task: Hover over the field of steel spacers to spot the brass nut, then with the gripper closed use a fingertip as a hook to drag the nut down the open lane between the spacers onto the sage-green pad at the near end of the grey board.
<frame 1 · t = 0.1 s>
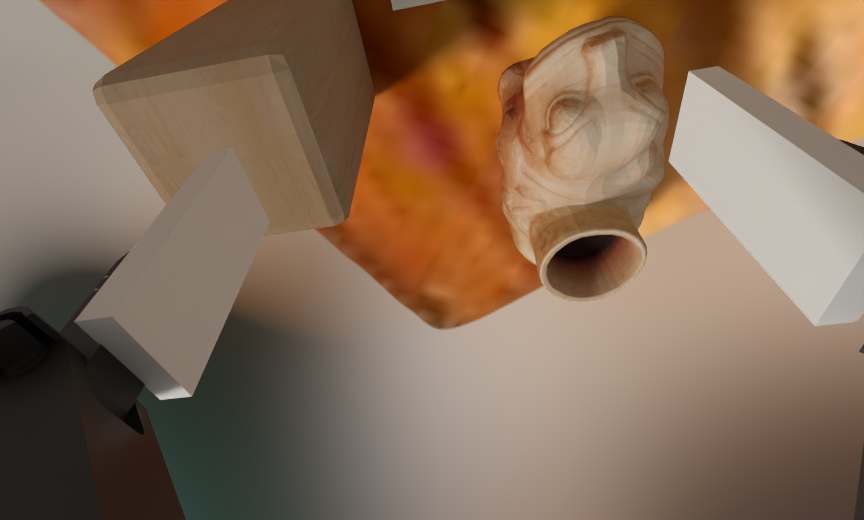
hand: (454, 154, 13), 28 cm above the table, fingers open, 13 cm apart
wooden block: (308, 51, 37), on the table
ceramic vessel: (561, 137, 43), on the table
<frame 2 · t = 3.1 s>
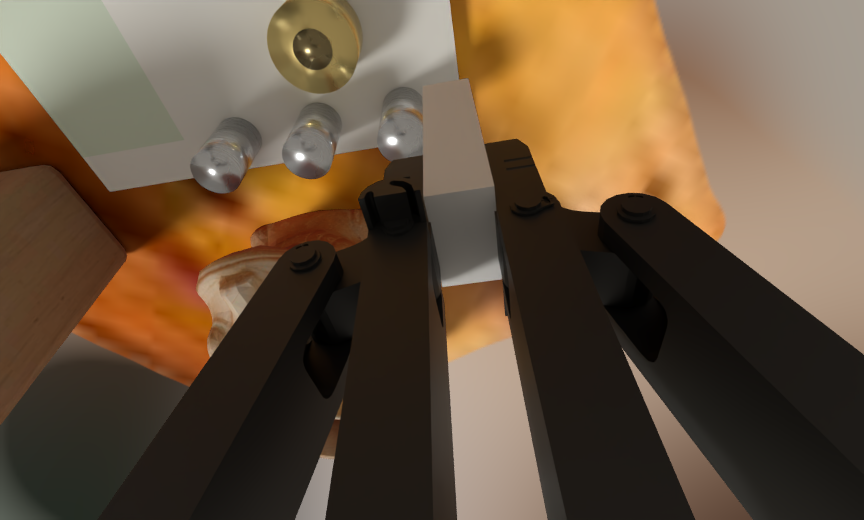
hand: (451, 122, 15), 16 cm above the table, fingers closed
nut: (321, 33, 26), point 1 cm above the table, touching board
spacers: (297, 48, 25), on the board, point 4 cm above the table
board: (235, 46, 28), on the table
wooden block: (47, 217, 36), on the table
ceramic vessel: (339, 280, 42), on the table
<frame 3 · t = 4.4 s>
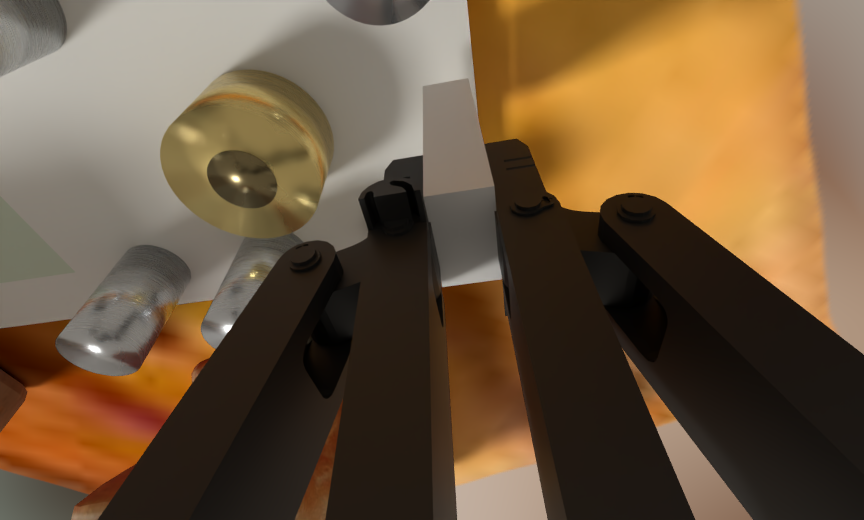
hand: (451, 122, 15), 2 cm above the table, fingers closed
nut: (267, 137, 16), point 1 cm above the table, touching board
spacers: (220, 173, 15), on the board, point 4 cm above the table
board: (136, 149, 18), on the table
ceramic vessel: (317, 411, 32), on the table
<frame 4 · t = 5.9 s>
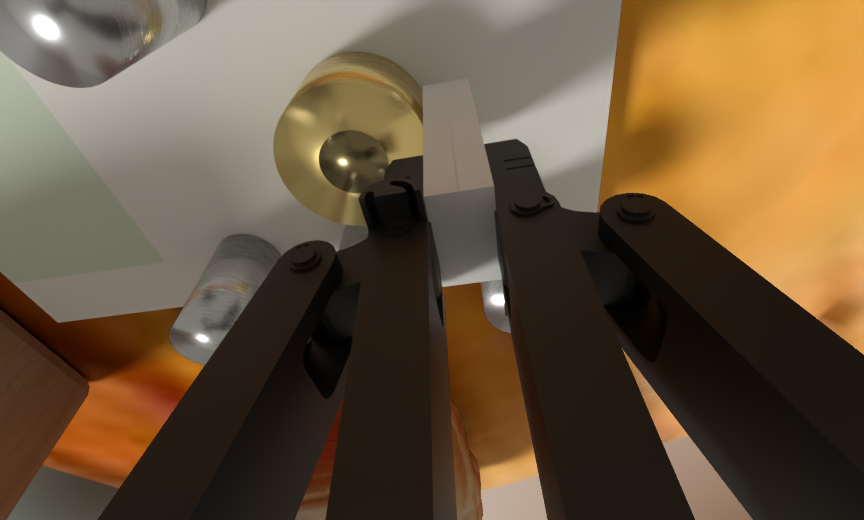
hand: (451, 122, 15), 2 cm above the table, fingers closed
nut: (363, 123, 16), point 1 cm above the table, touching gripper
spacers: (356, 157, 14), on the board, point 4 cm above the table
board: (245, 134, 17), on the table
ceramic vessel: (376, 407, 32), on the table
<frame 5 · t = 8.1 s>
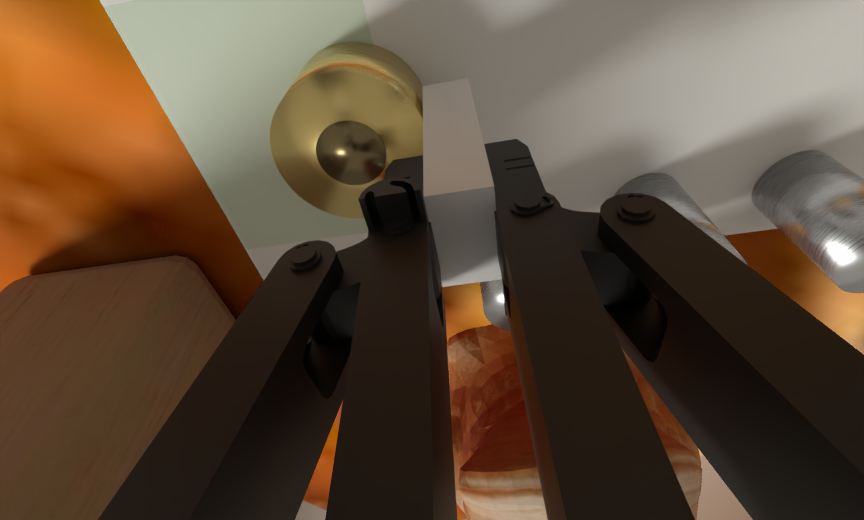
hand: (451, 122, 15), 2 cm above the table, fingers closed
nut: (361, 115, 16), point 1 cm above the table, touching board, gripper
spacers: (740, 94, 13), on the board, point 4 cm above the table
board: (548, 82, 16), on the table
wooden block: (159, 319, 25), on the table
ceramic vessel: (540, 389, 31), on the table
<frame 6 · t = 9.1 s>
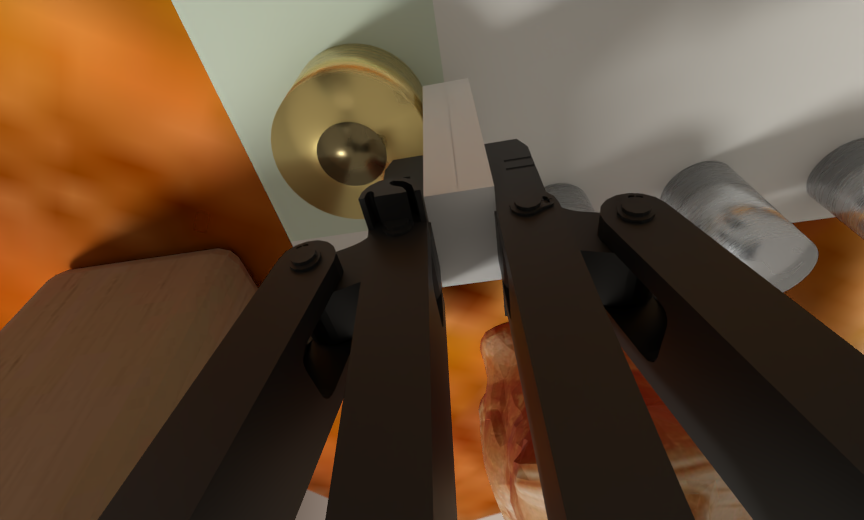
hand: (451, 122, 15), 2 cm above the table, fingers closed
nut: (362, 116, 16), point 1 cm above the table, touching board, gripper
spacers: (816, 77, 13), on the board, point 4 cm above the table
board: (606, 68, 16), on the table
wooden block: (195, 314, 25), on the table
ceramic vessel: (572, 384, 30), on the table
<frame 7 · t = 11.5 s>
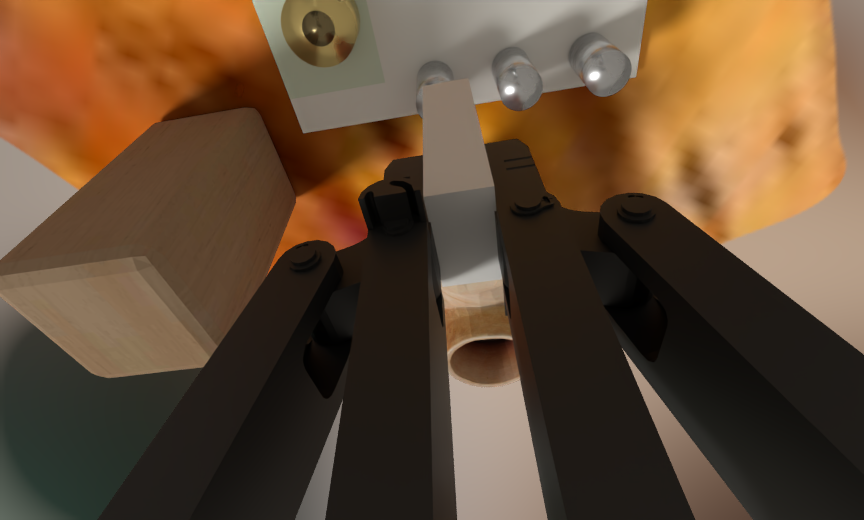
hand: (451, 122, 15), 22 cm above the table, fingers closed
nut: (325, 18, 31), point 1 cm above the table, touching board
wooden block: (231, 161, 40), on the table
ceramic vessel: (476, 227, 46), on the table
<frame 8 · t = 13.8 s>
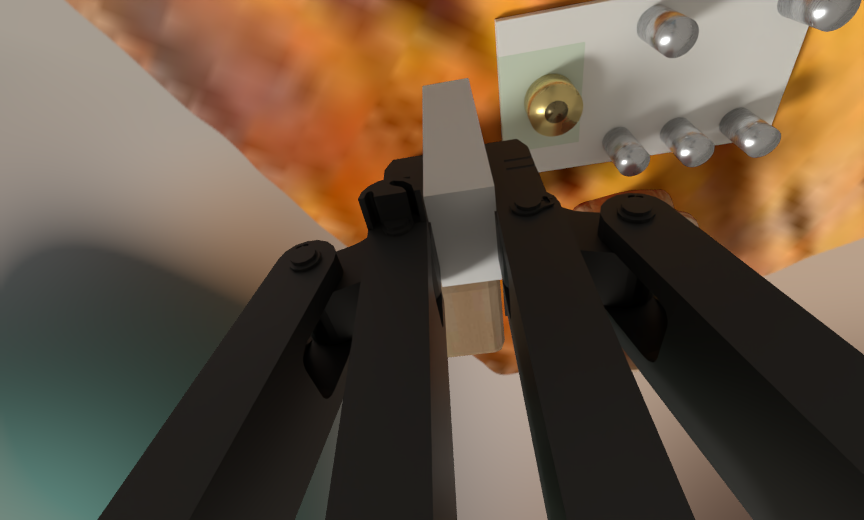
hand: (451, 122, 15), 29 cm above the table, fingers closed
nut: (549, 99, 43), point 1 cm above the table, touching board
spacers: (710, 85, 40), on the board, point 4 cm above the table
board: (640, 81, 43), on the table
wooden block: (438, 196, 52), on the table
ceramic vessel: (613, 245, 57), on the table
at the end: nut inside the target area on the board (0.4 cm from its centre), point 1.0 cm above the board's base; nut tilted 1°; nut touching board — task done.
